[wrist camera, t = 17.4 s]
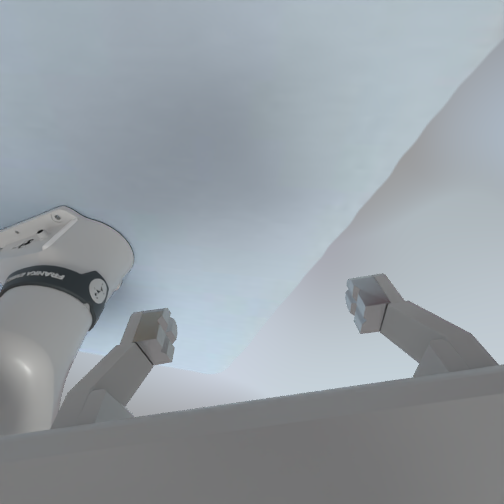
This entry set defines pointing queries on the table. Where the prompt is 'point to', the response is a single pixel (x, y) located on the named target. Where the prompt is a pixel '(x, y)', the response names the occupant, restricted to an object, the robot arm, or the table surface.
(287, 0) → the table surface
